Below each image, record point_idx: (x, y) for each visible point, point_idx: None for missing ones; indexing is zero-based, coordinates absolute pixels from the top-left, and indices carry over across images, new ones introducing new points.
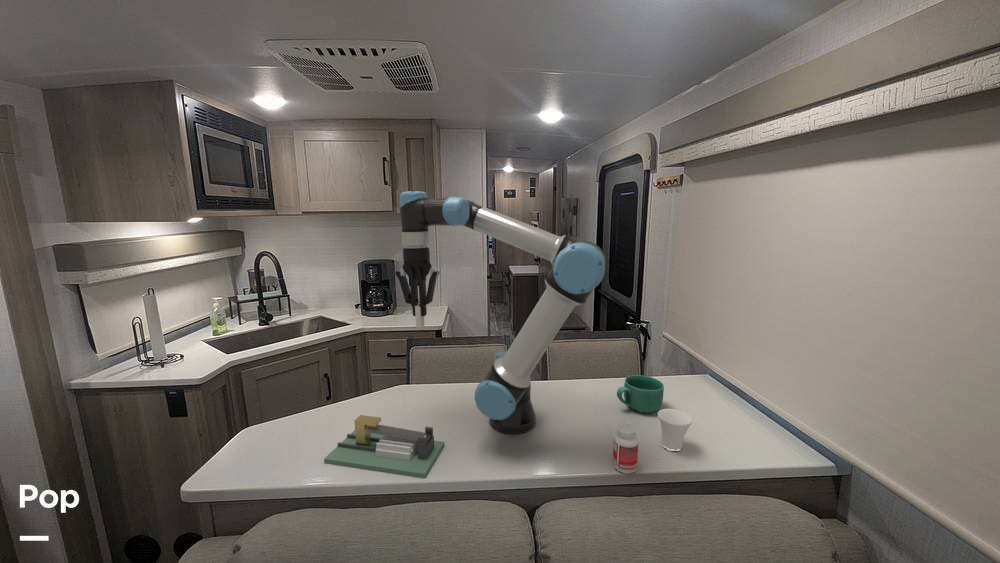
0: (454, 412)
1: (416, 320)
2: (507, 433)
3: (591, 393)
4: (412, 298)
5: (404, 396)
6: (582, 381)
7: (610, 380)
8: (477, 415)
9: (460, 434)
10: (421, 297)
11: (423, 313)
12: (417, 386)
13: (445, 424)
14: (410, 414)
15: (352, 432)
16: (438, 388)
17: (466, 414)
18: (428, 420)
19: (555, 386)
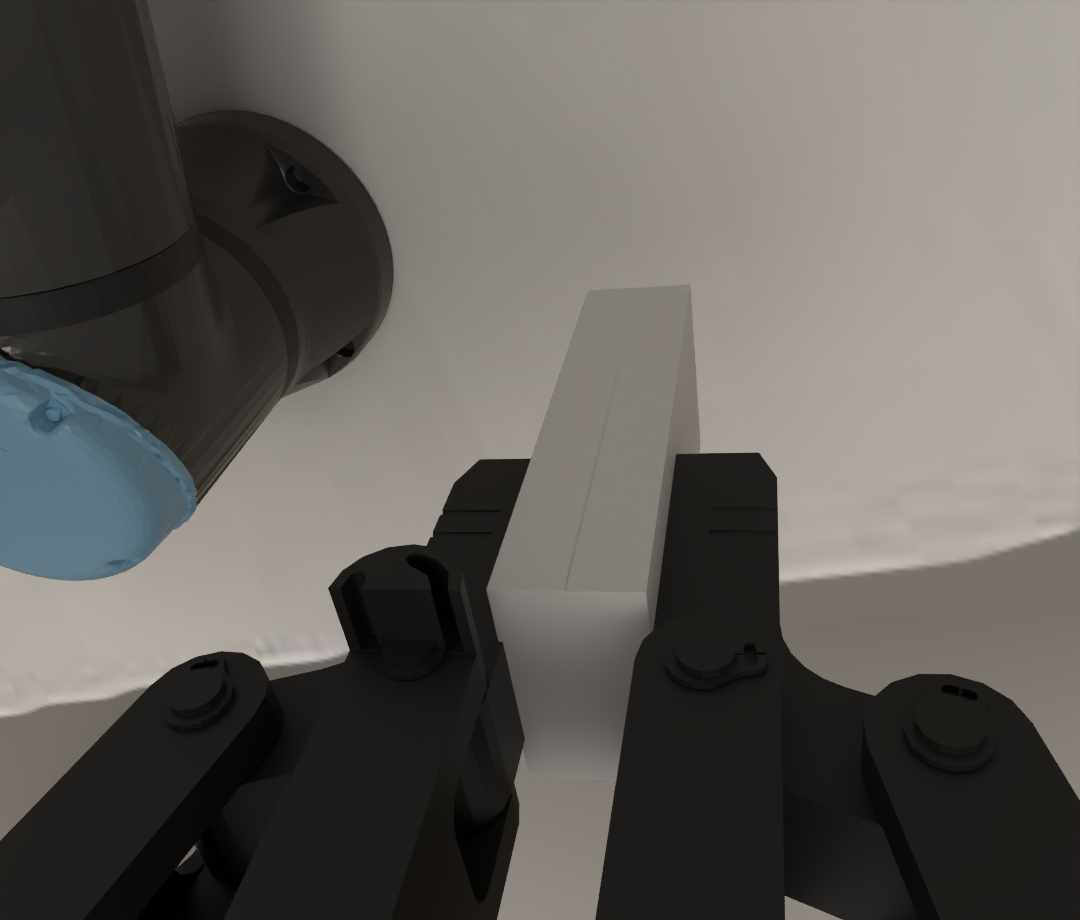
0: (628, 262)
1: (660, 359)
2: (223, 111)
3: None
4: (712, 826)
5: (1075, 383)
6: (134, 673)
7: (34, 691)
8: (475, 262)
9: (478, 20)
10: (330, 843)
11: (479, 499)
12: (1023, 521)
13: (624, 107)
14: (930, 163)
15: None
16: (856, 517)
17: (544, 257)
18: (762, 122)
19: (223, 618)
